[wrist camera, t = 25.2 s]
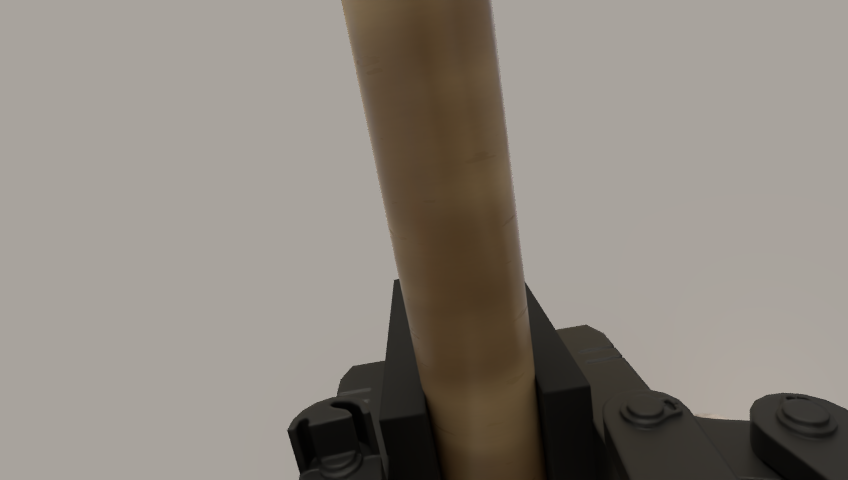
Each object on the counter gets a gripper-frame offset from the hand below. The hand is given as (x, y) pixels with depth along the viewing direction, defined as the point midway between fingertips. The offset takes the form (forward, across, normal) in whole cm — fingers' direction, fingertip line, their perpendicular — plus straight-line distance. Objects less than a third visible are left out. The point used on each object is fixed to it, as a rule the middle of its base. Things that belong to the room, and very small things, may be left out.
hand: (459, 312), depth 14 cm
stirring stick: (-5, 0, -16) cm, 16 cm away
